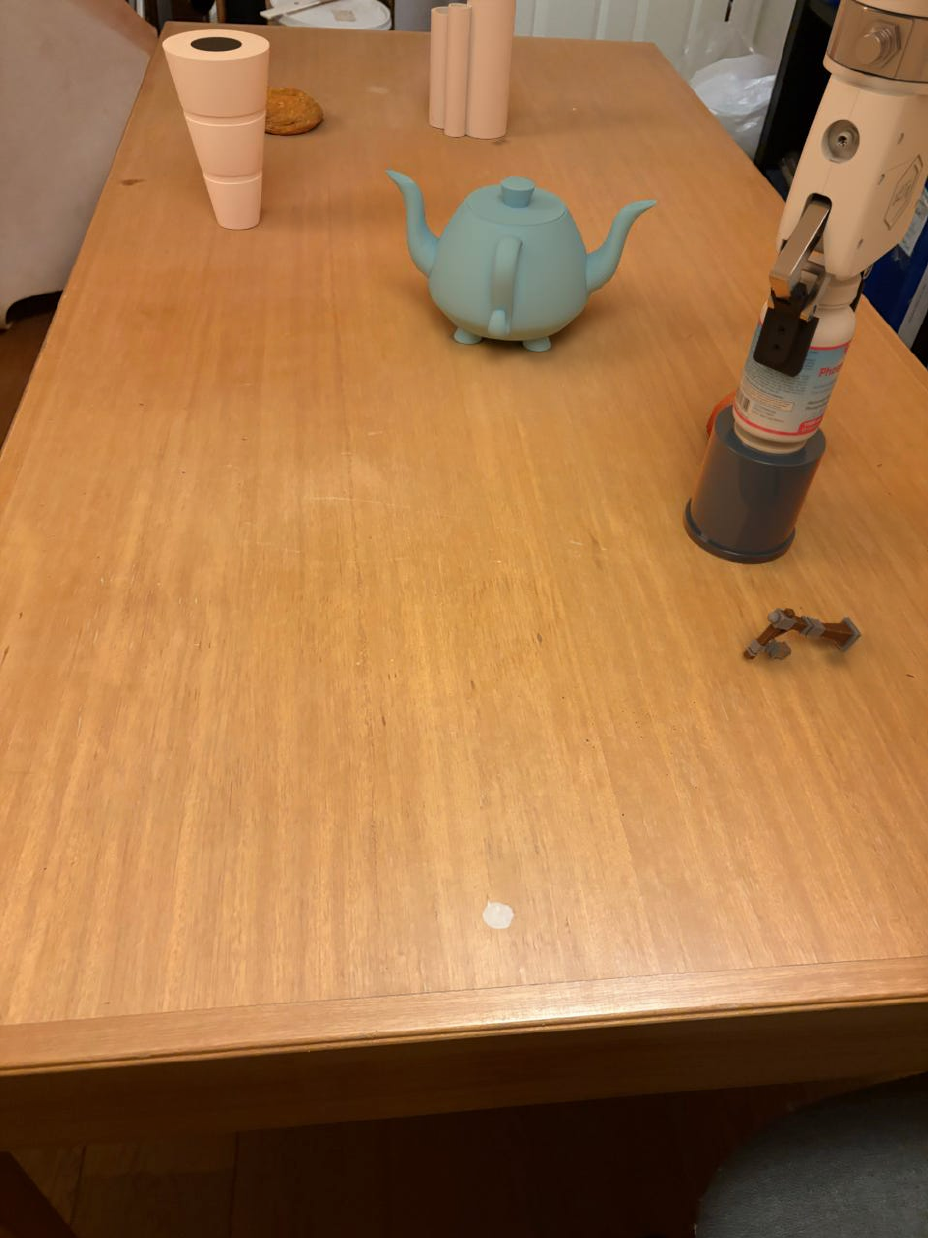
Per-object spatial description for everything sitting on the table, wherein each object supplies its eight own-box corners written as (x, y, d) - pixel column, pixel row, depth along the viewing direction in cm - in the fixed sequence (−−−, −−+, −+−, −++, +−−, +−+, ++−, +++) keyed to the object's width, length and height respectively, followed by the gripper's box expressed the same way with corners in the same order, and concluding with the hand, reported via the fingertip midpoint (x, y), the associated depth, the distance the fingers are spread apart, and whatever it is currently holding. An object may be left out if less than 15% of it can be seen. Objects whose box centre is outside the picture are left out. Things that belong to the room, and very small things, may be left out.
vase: (508, 124, 134) (522, -43, 120) (502, 142, 129) (516, -30, 115) (431, 116, 135) (435, -51, 121) (422, 133, 130) (425, -39, 116)
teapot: (385, 308, 95) (383, 165, 85) (539, 269, 103) (554, 134, 93) (471, 385, 86) (481, 235, 76) (633, 336, 94) (661, 194, 84)
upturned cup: (811, 526, 74) (852, 428, 67) (760, 580, 69) (798, 481, 63) (717, 479, 78) (746, 382, 71) (662, 528, 73) (688, 429, 66)
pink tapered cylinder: (269, 245, 104) (250, 64, 91) (177, 234, 104) (145, 53, 91) (296, 207, 111) (282, 34, 98) (210, 197, 112) (185, 24, 99)
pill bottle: (813, 454, 64) (873, 301, 56) (725, 434, 65) (770, 281, 57) (819, 409, 68) (876, 259, 60) (736, 391, 69) (780, 241, 61)
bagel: (336, 130, 129) (334, 93, 126) (261, 141, 125) (257, 102, 122) (307, 108, 135) (305, 71, 131) (235, 117, 131) (230, 79, 127)
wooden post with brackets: (729, 645, 63) (770, 597, 61) (808, 658, 67) (850, 614, 65) (742, 664, 62) (784, 617, 60) (821, 676, 66) (864, 632, 64)
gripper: (908, 94, 43) (791, 423, 56) (1027, 29, 52) (903, 323, 65) (763, 56, 46) (684, 376, 59) (900, 1, 56) (805, 287, 69)
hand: (800, 346), depth 62 cm, fingers closed on pill bottle, 6 cm apart
